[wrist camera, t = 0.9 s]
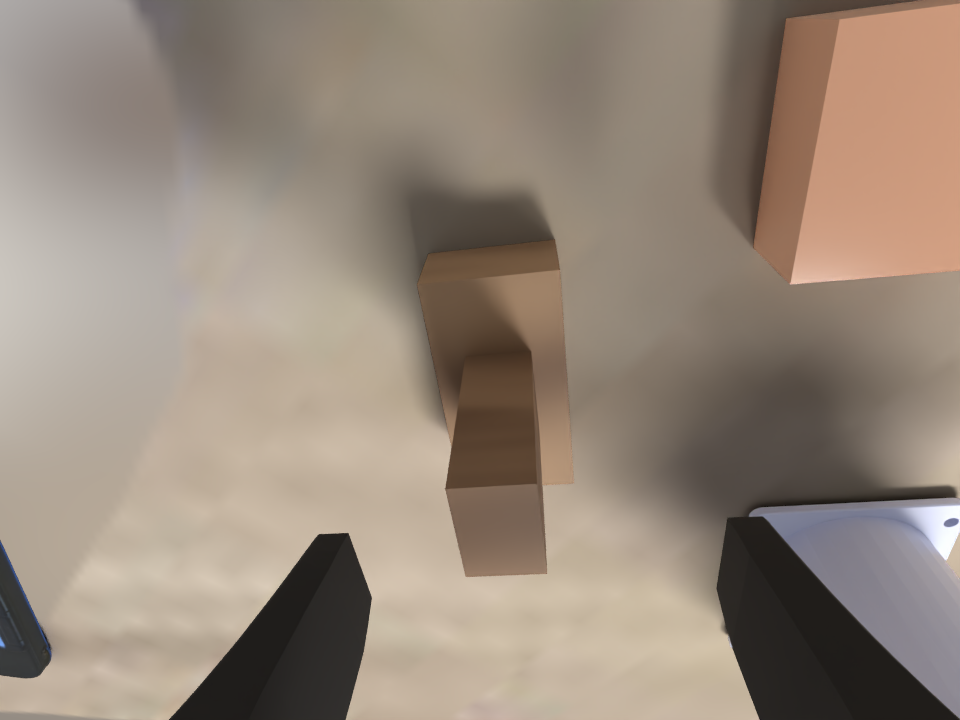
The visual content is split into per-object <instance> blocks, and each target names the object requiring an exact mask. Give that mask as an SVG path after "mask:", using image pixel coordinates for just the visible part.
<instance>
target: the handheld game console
mask: <svg viewBox="0 0 960 720" xmlns="http://www.w3.org/2000/svg"><path fill="white" fill-rule="evenodd" d="M50 661H51V651H50V648H49V646H48V644H47V642H46V639H45V637H44V635H43V632H42V630H41V628H40V625H39V623H38V621H37V619H36V617H35V615H34V612H33V610H32V608H31V606H30V604H29V602H28V599H27V597H26V595H25V593H24V591H23V589H22V587H21V584H20V582H19V580H18V578H17V576H16V574H15V571H14V569H13V567H12V565H11V562H10V560H9V558H8V556H7V554H6V552H5V549H4V547H3V545H2V543H1V541H0V675H2V676H10V677H18V678H34V677H37V676H39V675H40V674H41V673H42V672H43V670H44V669H45V667H46V666H47V665H48V664H49V663H50Z"/></svg>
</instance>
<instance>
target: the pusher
mask: <svg viewBox="0 0 960 720" xmlns="http://www.w3.org/2000/svg"><path fill="white" fill-rule="evenodd" d="M417 287H418V292H419V297H420V302H421V306H422V311H423V316H424V320H425V325H426V330H427V334H428V339H429V344H430V348H431V353H432V358H433V363H434V367H435V372H436V377H437V381H438V386H439V391H440V395H441V400H442V405H443V409H444V414H445V419H446V424H447V428H448V433H449V438H450V442H451V447H452V448H451V455H450V462H449V468H448V475H447V482H446V488H445V490H446V494H447V498H448V503H449V507H450V511H451V515H452V520H453V524H454V528H455V533H456V537H457V541H458V546H459V550H460V554H461V558H462V563H463V567H464V571H465V576H466V577H477V576H503V575H528V574H547V561H546V543H545V524H544V506H543V487H542V485H553V484H571V483H574V477H573V462H572V446H571V431H570V416H569V400H568V385H567V369H566V354H565V339H564V323H563V308H562V293H561V277H560V267H559V261H558V255H557V249H556V243H555V240H546V241H537V242H528V243H519V244H510V245H501V246H492V247H483V248H474V249H465V250H456V251H447V252H438V253H429V254H428V256H427V259H426V261H425V264H424V267H423V270H422V272H421V275H420V278H419V280H418V283H417Z"/></svg>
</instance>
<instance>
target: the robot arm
mask: <svg viewBox="0 0 960 720" xmlns="http://www.w3.org/2000/svg"><path fill="white" fill-rule="evenodd" d="M959 532H960V499H959V498H936V499H916V500H896V501H877V502H857V503H837V504H818V505H798V506H778V507H761V508H757V509H755V510H753V511H752V512H751V513H750V514H749V516H748V517H733V518H728V519H727V525H726V531H725V538H724V544H723V550H722V557H721V563H720V570H719V576H718V582H717V592H718V596H719V600H720V604H721V608H722V612H723V616H724V620H725V623H726V627H727V631H728V634H729V635H728V641H729V644H730V646H731V647H732V648H733V651H734V653H735V656H736V659H737V662H738V664H739V667H740V669H741V672H742V675H743V677H744V680H745V683H746V685H747V688H748V691H749V693H750V696H751V698H752V701H753V704H754V706H755V709H756V711H757V714H758V717H759V719H760V720H960V578H959V577H958V576H957V574H956V573H955V572H954V571H953V569H952V568H951V567H950V566H949V564H948V563H947V562H946V560H947V558H948V556H949V553H950V551H951V549H952V547H953V545H954V543H955V540H956V538H957V536H958V534H959ZM371 600H372V597H371V594H370V591H369V589H368V586H367V583H366V580H365V578H364V575H363V572H362V569H361V567H360V564H359V561H358V558H357V556H356V553H355V550H354V547H353V545H352V542H351V539H350V536H349V534H348V533H339V534H319V535H318V536H317V537H316V538H315V539H314V541H313V542H312V543H311V545H310V546H309V547H308V549H307V550H306V551H305V553H304V554H303V555H302V557H301V558H300V560H299V561H298V562H297V564H296V565H295V566H294V568H293V569H292V570H291V572H290V573H289V574H288V576H287V577H286V578H285V580H284V581H283V582H282V584H281V585H280V586H279V588H278V589H277V590H276V592H275V593H274V594H273V596H272V597H271V598H270V600H269V601H268V602H267V604H266V605H265V606H264V607H263V609H262V610H261V611H260V613H259V614H258V615H257V616H256V618H255V619H254V620H253V622H252V623H251V624H250V625H249V627H248V628H247V629H246V631H245V632H244V633H243V634H242V636H241V637H240V638H239V639H238V641H237V642H236V643H235V644H234V646H233V647H232V648H231V649H230V650H229V652H228V653H227V654H226V655H225V656H224V657H223V659H222V660H221V661H220V662H219V663H218V665H217V666H216V667H215V668H214V669H213V670H212V672H211V673H210V674H209V675H208V676H207V678H206V679H205V680H204V681H203V682H202V683H201V685H200V686H199V687H198V688H197V689H196V690H195V692H194V693H193V694H192V695H191V696H190V697H189V698H188V699H187V701H186V702H185V703H184V704H183V705H182V706H181V707H180V708H179V709H178V710H177V712H176V713H175V714H174V715H173V716H172V717H171V718H170V719H169V720H346V716H347V712H348V709H349V705H350V701H351V698H352V694H353V690H354V686H355V683H356V679H357V675H358V671H359V668H360V664H361V660H362V656H363V652H364V646H365V640H366V634H367V628H368V621H369V614H370V607H371Z"/></svg>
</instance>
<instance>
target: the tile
mask: <svg viewBox="0 0 960 720" xmlns="http://www.w3.org/2000/svg"><path fill="white" fill-rule="evenodd" d="M753 248H754V249H755V250H756V251H757V252H758V253H759V254H760V255H761V256H762V257H763V258H764V259H765V260H766V261H767V262H768V263H769V264H770V265H771V266H772V267H773V268H774V269H775V270H776V271H777V272H778V273H779V274H780V275H781V276H782V277H783V278H784V279H785V280H786V281H787V282H788V283H789V284H790V285H791V284H803V283H815V282H827V281H839V280H851V279H863V278H875V277H887V276H899V275H911V274H923V273H935V272H947V271H960V0H919V1H912V2H904V3H897V4H889V5H882V6H875V7H867V8H860V9H852V10H845V11H837V12H830V13H823V14H815V15H808V16H800V17H793V18H786V23H785V30H784V37H783V44H782V51H781V58H780V65H779V71H778V78H777V85H776V92H775V99H774V106H773V113H772V120H771V127H770V134H769V141H768V148H767V155H766V162H765V169H764V176H763V183H762V190H761V197H760V204H759V210H758V217H757V224H756V231H755V238H754V245H753Z"/></svg>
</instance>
